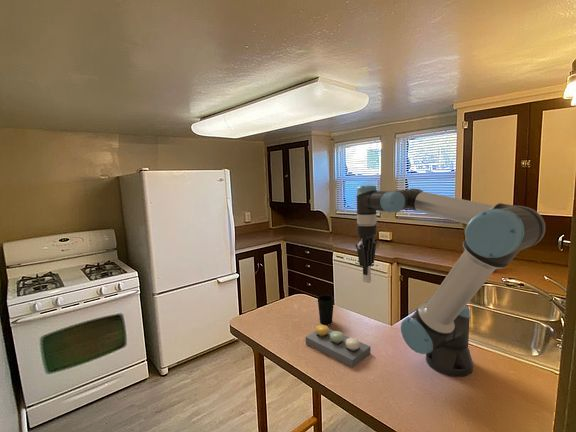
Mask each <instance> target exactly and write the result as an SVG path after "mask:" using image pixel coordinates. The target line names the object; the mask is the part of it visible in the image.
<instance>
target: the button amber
mask: <svg viewBox="0 0 576 432" xmlns="http://www.w3.org/2000/svg"><path fill="white" fill-rule="evenodd" d="M328 326H329V325H323V324H319V325H316V327H315V331H316V333H317V334H318V335H319V336H320V337H321V338H325V335H327V334H328V333H329V329H330V328H329V327H328Z"/></svg>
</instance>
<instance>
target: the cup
mask: <svg viewBox="0 0 576 432" xmlns="http://www.w3.org/2000/svg"><path fill="white" fill-rule="evenodd" d="M334 304H335V298H334V296H333V295H330V294H320V295H318V296H317V305H318V315H319V323H320V325H323V324H324V325H326V326H329V325H328V324H330V325H332V324H333V313H334V306H335V305H334ZM331 323H332V324H331Z"/></svg>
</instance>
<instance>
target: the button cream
mask: <svg viewBox="0 0 576 432" xmlns="http://www.w3.org/2000/svg"><path fill="white" fill-rule="evenodd" d="M360 342H361V341H360V340H359V338H355V337H350V338H348V339H346V347H347V348H348V349H350V351H351V352H353V353H355V352H356V349H359V348H360Z"/></svg>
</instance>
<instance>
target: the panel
mask: <svg viewBox="0 0 576 432" xmlns="http://www.w3.org/2000/svg"><path fill="white" fill-rule="evenodd" d="M333 331H335V330H333V329H332V328H329V333H328V334H327V335H325V338H321V337H320V336H319V335H318V334H317V333H316V330H315V331H314V332H312V333H309V334H308V335H306V336H305V344H306V345H307V346H309V347H312V348H313V349H315V350H317V351H319V352H321V353H322V354H325V355H326V356H329V357H330V358H332V359H335V360H336V361H339V363H343V364H345V365H346V366H348V367H350V368H354V367H356V366H357V365H358V364H359V363H361V361H363V360H364V359H366V358H367V357H368V356H370V355H371V350H372V349H371V346H370V345H368V344H366V343H364V342H361V341H360V348H359V349H356V352H355V353H353V352H351V351H350V349H348V348H347V347H346V339H348V338H351V337H349V336H347V335H345V334H343V336H344V339H343V341H341V342H340V344H339V345H336V344H334V342H333V341H332V340H331V339H330V333H331V332H333Z"/></svg>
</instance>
